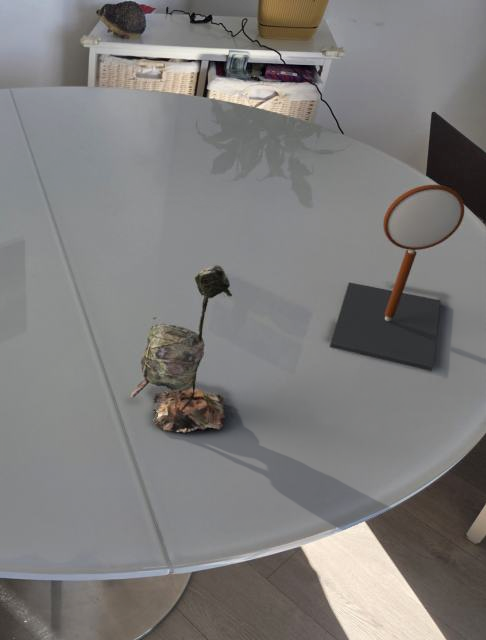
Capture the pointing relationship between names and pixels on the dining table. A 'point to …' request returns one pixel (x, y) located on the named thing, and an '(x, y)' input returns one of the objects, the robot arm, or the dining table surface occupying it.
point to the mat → (388, 326)
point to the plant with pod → (183, 366)
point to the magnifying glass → (420, 227)
